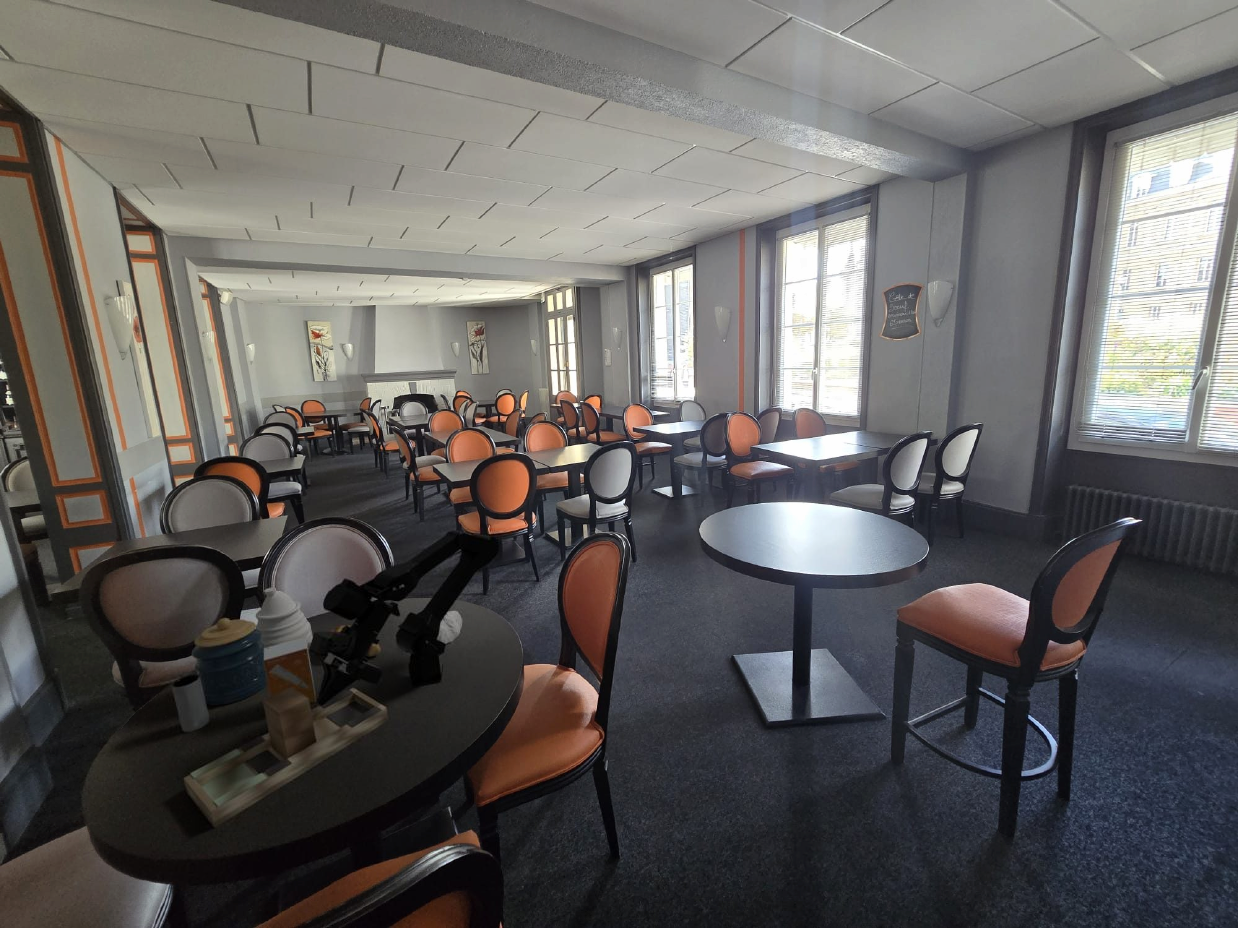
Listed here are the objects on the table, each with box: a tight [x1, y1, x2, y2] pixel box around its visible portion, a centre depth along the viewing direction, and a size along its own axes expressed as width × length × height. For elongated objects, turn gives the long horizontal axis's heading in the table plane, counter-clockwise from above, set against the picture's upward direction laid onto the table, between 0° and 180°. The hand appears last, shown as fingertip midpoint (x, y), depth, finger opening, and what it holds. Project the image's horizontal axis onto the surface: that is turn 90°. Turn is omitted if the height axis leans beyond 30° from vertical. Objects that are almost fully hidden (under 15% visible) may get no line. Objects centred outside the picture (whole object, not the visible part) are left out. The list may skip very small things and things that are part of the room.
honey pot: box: [255, 587, 313, 650], centre depth 137 cm, size 13×13×18 cm
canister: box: [191, 617, 268, 706], centre depth 120 cm, size 13×13×18 cm
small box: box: [264, 637, 317, 704], centre depth 115 cm, size 8×6×13 cm
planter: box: [171, 674, 210, 733], centre depth 109 cm, size 4×4×10 cm
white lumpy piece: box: [437, 610, 463, 645], centre depth 140 cm, size 12×8×11 cm
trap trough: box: [183, 687, 389, 829], centre depth 99 cm, size 30×13×3 cm, turn 145°
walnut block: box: [262, 687, 316, 759], centre depth 98 cm, size 5×7×10 cm
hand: (319, 704), depth 103 cm, fingers closed
